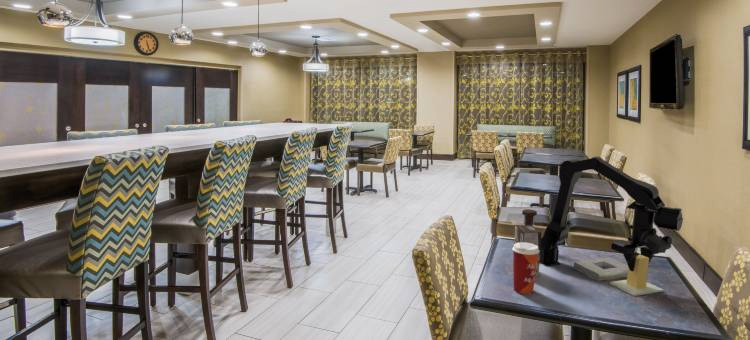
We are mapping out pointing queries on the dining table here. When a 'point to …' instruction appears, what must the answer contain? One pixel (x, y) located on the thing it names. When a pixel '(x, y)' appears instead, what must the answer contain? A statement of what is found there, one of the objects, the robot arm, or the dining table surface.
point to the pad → (634, 291)
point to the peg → (638, 273)
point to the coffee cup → (524, 266)
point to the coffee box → (529, 239)
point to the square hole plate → (596, 272)
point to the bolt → (529, 216)
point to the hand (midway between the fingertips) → (637, 270)
